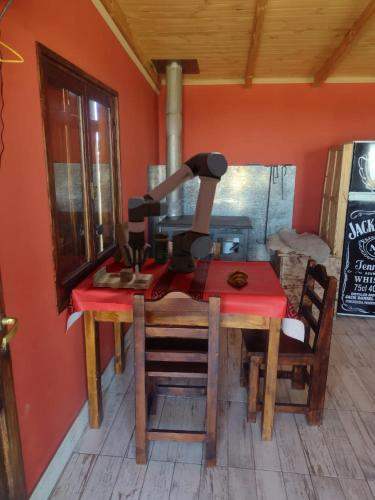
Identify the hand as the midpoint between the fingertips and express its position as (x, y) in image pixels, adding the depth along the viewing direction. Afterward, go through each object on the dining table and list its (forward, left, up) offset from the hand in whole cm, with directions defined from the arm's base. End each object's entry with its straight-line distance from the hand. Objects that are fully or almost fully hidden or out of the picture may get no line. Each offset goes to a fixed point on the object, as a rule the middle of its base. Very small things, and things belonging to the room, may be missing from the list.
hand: (137, 278), depth 172 cm
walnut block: (+6, -1, -2) cm, 6 cm away
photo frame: (+16, -44, -4) cm, 47 cm away
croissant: (-49, -14, -5) cm, 51 cm away
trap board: (+8, -4, -4) cm, 10 cm away
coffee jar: (-4, -46, -4) cm, 47 cm away
